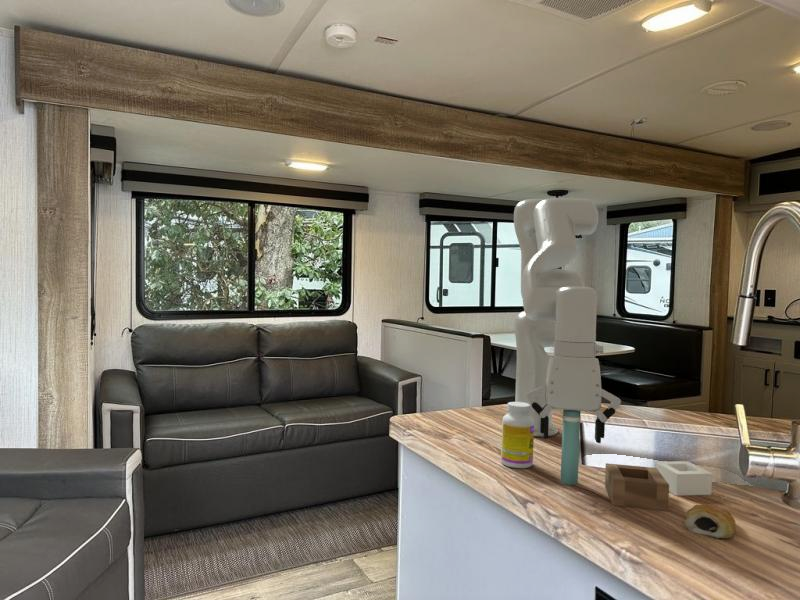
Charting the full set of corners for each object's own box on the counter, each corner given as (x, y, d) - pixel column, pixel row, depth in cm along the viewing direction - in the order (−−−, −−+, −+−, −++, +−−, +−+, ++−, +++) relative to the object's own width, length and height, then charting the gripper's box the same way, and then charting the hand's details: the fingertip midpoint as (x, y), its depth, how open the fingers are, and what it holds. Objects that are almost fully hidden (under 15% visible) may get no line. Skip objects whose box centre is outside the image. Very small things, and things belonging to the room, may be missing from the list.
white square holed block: (654, 481, 109) (654, 461, 109) (686, 481, 110) (687, 461, 110) (676, 495, 102) (677, 474, 102) (711, 494, 103) (712, 473, 103)
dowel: (559, 478, 109) (562, 408, 109) (577, 480, 109) (579, 409, 108) (560, 484, 106) (563, 411, 106) (578, 486, 105) (581, 413, 105)
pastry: (695, 513, 95) (697, 491, 95) (741, 525, 90) (742, 502, 90) (682, 531, 88) (683, 507, 87) (731, 545, 83) (732, 520, 83)
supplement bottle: (533, 470, 113) (535, 408, 113) (500, 467, 115) (502, 406, 114) (532, 460, 120) (534, 401, 120) (501, 457, 121) (503, 399, 121)
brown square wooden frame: (604, 486, 106) (605, 463, 105) (655, 491, 104) (656, 467, 104) (612, 504, 97) (613, 479, 97) (668, 510, 95) (669, 484, 95)
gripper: (618, 351, 108) (615, 438, 108) (528, 346, 112) (525, 431, 112) (625, 355, 101) (622, 448, 101) (528, 350, 105) (525, 440, 105)
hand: (571, 439), depth 107 cm, fingers open, 9 cm apart
